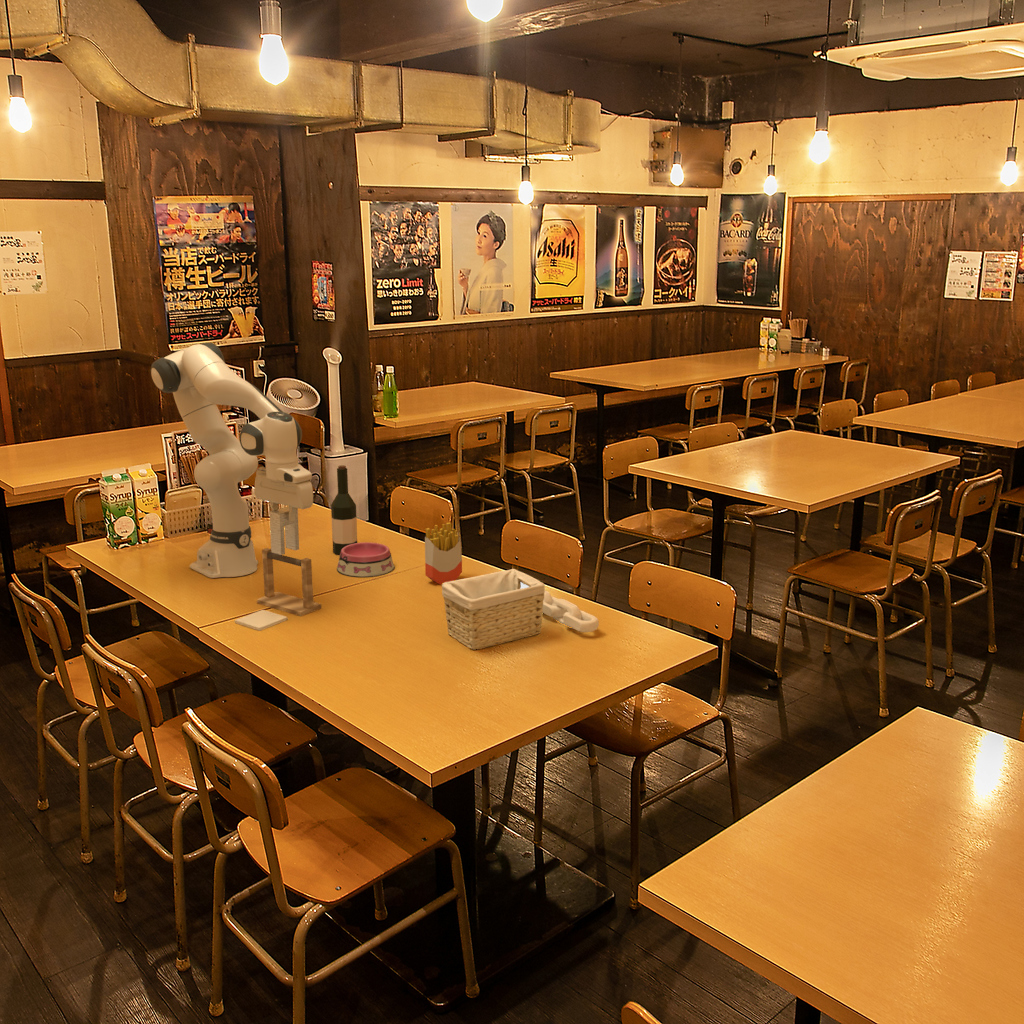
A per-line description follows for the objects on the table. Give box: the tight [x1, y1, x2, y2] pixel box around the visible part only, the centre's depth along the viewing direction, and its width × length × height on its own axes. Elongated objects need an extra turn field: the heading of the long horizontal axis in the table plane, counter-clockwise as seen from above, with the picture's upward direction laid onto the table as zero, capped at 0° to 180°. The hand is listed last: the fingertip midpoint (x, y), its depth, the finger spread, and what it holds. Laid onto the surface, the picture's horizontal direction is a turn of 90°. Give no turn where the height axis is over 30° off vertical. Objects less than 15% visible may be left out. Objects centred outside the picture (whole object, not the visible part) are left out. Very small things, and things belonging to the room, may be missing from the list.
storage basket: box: [441, 568, 546, 651], centre depth 257 cm, size 24×16×15 cm
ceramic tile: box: [234, 609, 289, 632], centre depth 267 cm, size 10×10×1 cm
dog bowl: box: [336, 541, 396, 579], centre depth 312 cm, size 18×18×7 cm
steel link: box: [269, 506, 300, 555], centre depth 273 cm, size 4×7×12 cm, turn 146°
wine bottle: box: [330, 465, 358, 556], centre depth 325 cm, size 8×8×30 cm
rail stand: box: [256, 547, 322, 617], centre depth 277 cm, size 18×8×16 cm, turn 56°
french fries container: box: [424, 521, 463, 585], centre depth 298 cm, size 5×11×18 cm, turn 127°
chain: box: [542, 589, 600, 633], centre depth 269 cm, size 30×6×6 cm, turn 34°
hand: (284, 518), depth 272 cm, fingers closed on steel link, 4 cm apart
